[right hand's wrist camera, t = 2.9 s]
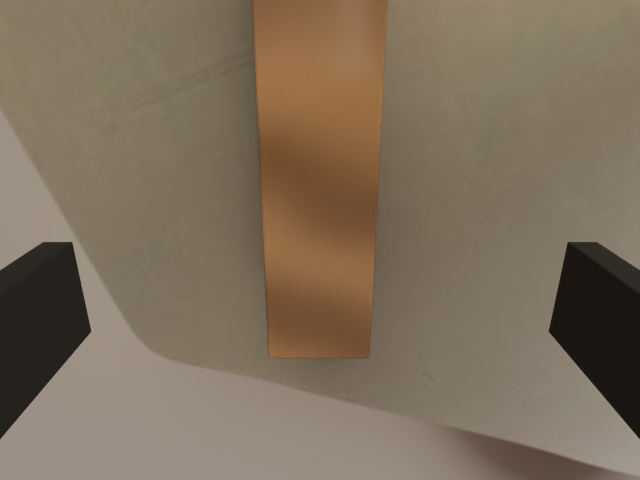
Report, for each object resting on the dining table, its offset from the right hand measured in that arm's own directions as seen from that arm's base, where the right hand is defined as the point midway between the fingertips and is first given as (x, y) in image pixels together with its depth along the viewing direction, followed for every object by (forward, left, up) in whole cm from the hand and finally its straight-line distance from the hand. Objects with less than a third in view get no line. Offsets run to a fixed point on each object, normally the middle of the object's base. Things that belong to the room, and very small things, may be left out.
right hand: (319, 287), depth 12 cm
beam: (-21, -5, -14) cm, 26 cm away
